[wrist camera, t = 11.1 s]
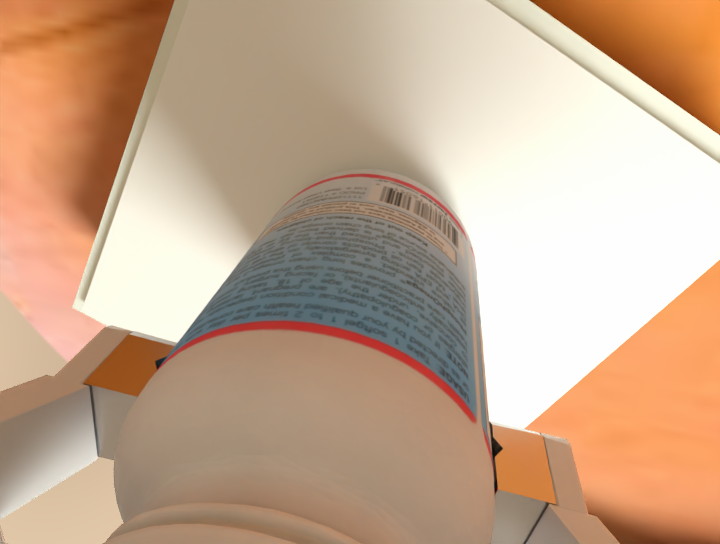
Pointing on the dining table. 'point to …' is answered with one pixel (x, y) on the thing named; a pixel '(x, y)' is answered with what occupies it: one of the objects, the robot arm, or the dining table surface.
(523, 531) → the robot arm
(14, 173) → the dining table surface
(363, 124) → the base block
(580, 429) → the dining table surface
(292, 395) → the pill bottle
